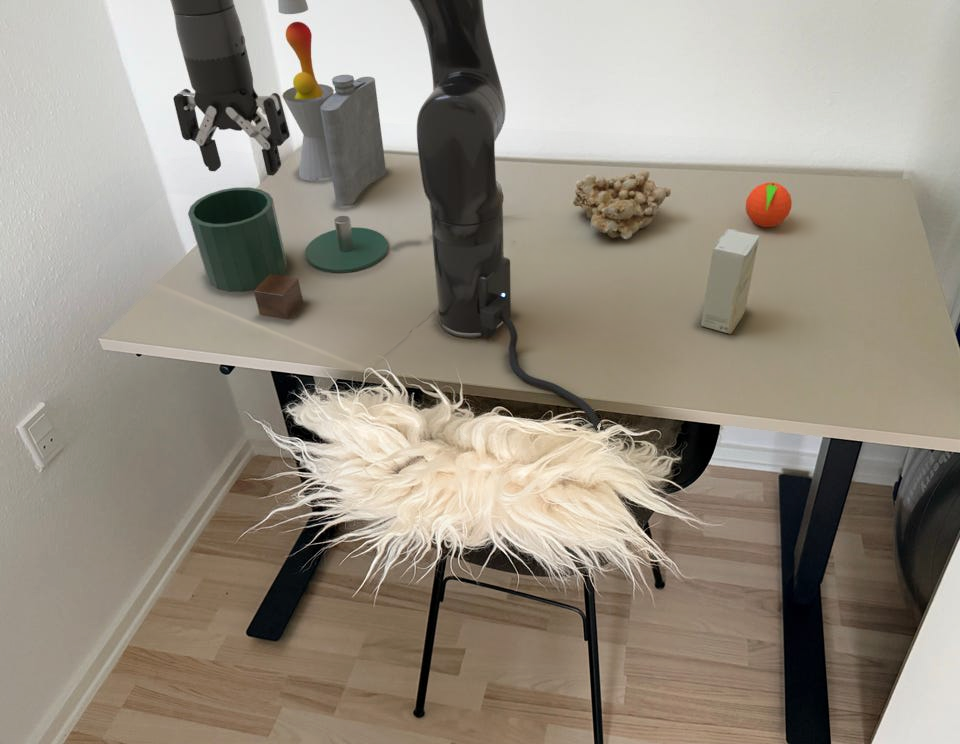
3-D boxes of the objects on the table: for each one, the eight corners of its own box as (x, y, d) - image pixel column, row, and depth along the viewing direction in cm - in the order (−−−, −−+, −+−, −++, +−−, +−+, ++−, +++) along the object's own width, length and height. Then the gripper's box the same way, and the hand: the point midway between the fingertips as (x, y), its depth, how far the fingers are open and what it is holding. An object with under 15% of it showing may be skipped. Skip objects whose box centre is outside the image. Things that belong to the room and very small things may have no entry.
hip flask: (349, 209, 138) (331, 95, 126) (329, 206, 139) (309, 93, 127) (389, 171, 150) (376, 62, 137) (369, 168, 151) (355, 60, 138)
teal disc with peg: (404, 245, 128) (400, 211, 124) (353, 284, 120) (347, 248, 116) (342, 226, 134) (337, 193, 130) (289, 262, 125) (281, 227, 121)
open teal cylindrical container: (303, 264, 125) (289, 198, 117) (247, 303, 117) (228, 234, 110) (249, 245, 130) (232, 180, 123) (191, 281, 122) (170, 214, 115)
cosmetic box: (730, 335, 106) (746, 257, 99) (698, 326, 108) (711, 248, 101) (745, 311, 110) (761, 234, 103) (714, 303, 112) (727, 226, 105)
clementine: (783, 241, 125) (793, 199, 120) (738, 234, 127) (746, 193, 122) (788, 217, 130) (798, 177, 126) (745, 211, 132) (752, 171, 128)
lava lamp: (305, 161, 154) (267, -37, 132) (350, 161, 154) (320, -38, 131) (292, 181, 148) (250, -24, 125) (339, 182, 147) (306, -25, 124)
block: (304, 304, 116) (298, 278, 113) (289, 322, 113) (282, 295, 110) (276, 300, 117) (269, 273, 114) (260, 317, 114) (253, 291, 111)
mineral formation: (567, 209, 135) (649, 191, 137) (596, 259, 126) (683, 238, 129) (568, 170, 129) (654, 150, 131) (599, 219, 120) (690, 198, 122)
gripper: (145, 55, 95) (182, 180, 106) (253, 58, 93) (281, 187, 103) (177, 35, 101) (210, 156, 111) (280, 38, 98) (304, 162, 108)
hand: (244, 171), depth 107 cm, fingers open, 8 cm apart
